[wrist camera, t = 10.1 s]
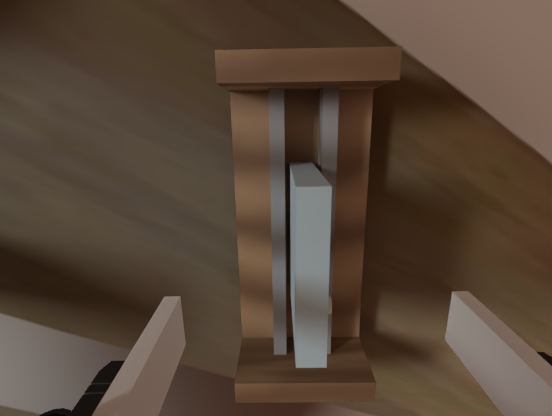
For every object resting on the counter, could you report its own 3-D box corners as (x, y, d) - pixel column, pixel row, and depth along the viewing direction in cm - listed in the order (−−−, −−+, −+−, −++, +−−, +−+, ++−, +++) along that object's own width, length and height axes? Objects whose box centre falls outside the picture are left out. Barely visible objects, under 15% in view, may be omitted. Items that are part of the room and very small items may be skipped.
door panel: (289, 162, 28) (295, 186, 18) (323, 162, 28) (349, 186, 18) (289, 284, 32) (295, 367, 21) (320, 284, 32) (341, 367, 21)
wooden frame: (232, 69, 28) (214, 50, 21) (368, 67, 28) (402, 46, 20) (245, 341, 36) (235, 402, 28) (353, 340, 35) (374, 401, 28)
